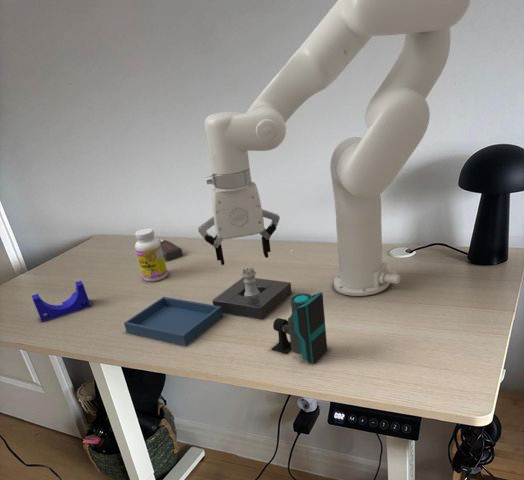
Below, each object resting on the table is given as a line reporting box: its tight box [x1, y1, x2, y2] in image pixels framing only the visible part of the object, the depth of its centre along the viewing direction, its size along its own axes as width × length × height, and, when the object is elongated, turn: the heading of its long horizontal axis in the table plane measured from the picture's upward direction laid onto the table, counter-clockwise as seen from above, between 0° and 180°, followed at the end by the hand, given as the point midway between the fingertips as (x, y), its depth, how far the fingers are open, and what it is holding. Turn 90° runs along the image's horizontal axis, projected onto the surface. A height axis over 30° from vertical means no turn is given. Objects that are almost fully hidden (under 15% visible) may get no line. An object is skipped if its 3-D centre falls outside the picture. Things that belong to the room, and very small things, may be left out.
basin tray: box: [123, 296, 224, 347], centre depth 115 cm, size 17×13×2 cm
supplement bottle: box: [134, 227, 168, 282], centre depth 137 cm, size 7×7×13 cm
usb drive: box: [160, 239, 184, 262], centre depth 155 cm, size 5×12×3 cm, turn 30°
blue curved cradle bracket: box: [31, 280, 92, 323], centre depth 129 cm, size 12×4×6 cm, turn 117°
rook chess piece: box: [241, 267, 260, 298], centre depth 117 cm, size 4×4×8 cm
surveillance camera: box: [271, 291, 328, 364], centre depth 95 cm, size 6×12×10 cm
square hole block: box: [211, 276, 293, 320], centre depth 118 cm, size 13×13×3 cm
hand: (244, 259), depth 114 cm, fingers open, 9 cm apart
